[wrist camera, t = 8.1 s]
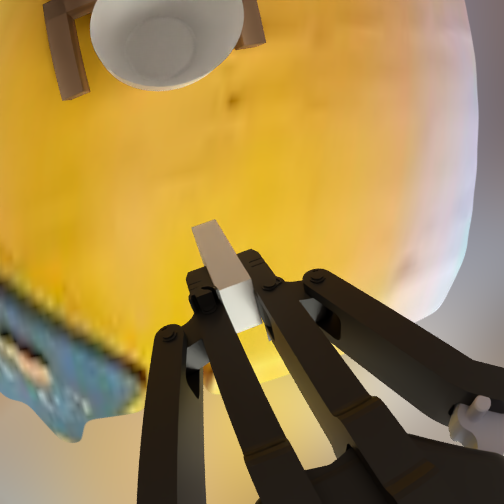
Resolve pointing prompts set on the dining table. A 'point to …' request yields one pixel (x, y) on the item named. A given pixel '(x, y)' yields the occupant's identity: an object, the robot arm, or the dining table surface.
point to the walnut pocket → (68, 51)
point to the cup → (164, 39)
